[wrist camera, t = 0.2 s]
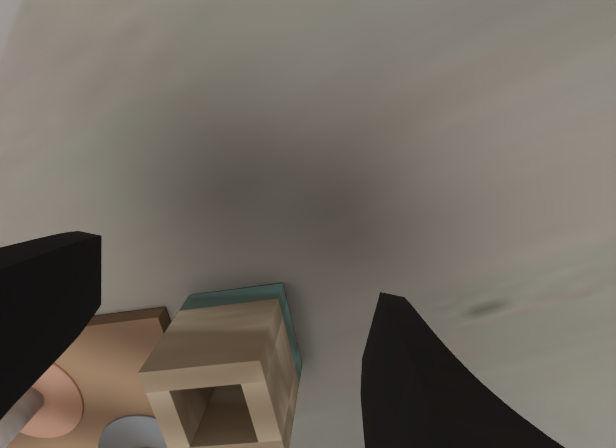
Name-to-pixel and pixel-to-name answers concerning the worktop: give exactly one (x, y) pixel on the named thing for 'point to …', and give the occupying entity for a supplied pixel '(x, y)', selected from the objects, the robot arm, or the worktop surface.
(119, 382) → the pin board
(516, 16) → the worktop surface
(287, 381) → the sleeve
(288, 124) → the worktop surface
